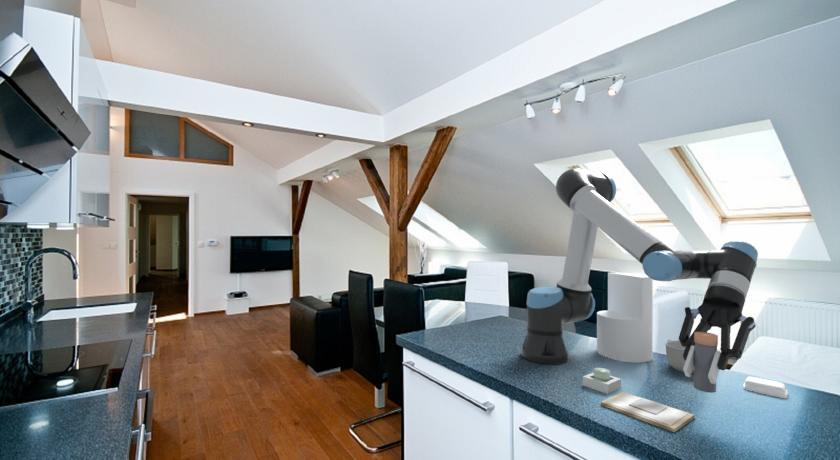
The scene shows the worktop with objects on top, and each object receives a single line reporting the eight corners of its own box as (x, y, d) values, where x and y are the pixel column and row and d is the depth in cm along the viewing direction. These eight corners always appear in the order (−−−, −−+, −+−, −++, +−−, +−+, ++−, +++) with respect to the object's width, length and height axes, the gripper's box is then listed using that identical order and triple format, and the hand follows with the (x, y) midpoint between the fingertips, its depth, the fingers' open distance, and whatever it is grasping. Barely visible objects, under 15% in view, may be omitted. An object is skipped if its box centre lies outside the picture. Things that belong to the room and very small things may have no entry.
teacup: (715, 377, 113) (715, 350, 113) (674, 374, 115) (674, 348, 115) (691, 362, 127) (691, 338, 127) (655, 360, 129) (655, 336, 129)
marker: (690, 387, 86) (691, 333, 86) (697, 383, 88) (698, 330, 88) (712, 394, 83) (714, 337, 83) (719, 389, 85) (720, 335, 85)
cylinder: (628, 346, 145) (628, 272, 145) (665, 361, 128) (664, 277, 128) (586, 348, 142) (586, 272, 142) (618, 363, 125) (618, 277, 125)
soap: (742, 390, 105) (741, 379, 105) (744, 383, 109) (744, 373, 110) (787, 400, 98) (787, 389, 98) (788, 393, 103) (788, 382, 103)
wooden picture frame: (600, 405, 94) (600, 400, 94) (623, 394, 100) (623, 390, 100) (674, 432, 81) (674, 427, 81) (694, 418, 87) (694, 413, 87)
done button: (590, 380, 106) (590, 369, 106) (598, 377, 108) (598, 366, 108) (605, 385, 103) (605, 373, 103) (612, 381, 105) (612, 370, 105)
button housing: (582, 385, 106) (582, 376, 106) (596, 380, 110) (596, 371, 110) (607, 394, 101) (607, 384, 101) (620, 387, 105) (621, 378, 105)
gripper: (775, 310, 88) (752, 400, 78) (689, 298, 101) (660, 373, 92) (769, 288, 85) (744, 380, 75) (681, 279, 98) (651, 355, 88)
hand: (698, 376), depth 83 cm, fingers closed on marker, 4 cm apart
